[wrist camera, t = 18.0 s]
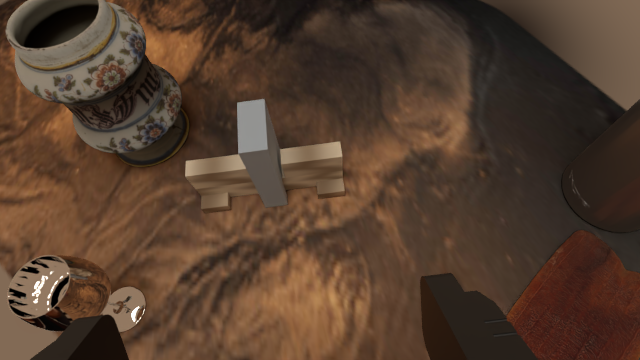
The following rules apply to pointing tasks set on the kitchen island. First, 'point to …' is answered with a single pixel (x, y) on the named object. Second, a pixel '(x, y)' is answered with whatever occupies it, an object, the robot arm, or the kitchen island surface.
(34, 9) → the apothecary jar
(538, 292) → the wooden tablet
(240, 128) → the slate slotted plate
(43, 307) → the wineglass
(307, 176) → the birch slotted board
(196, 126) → the kitchen island surface
